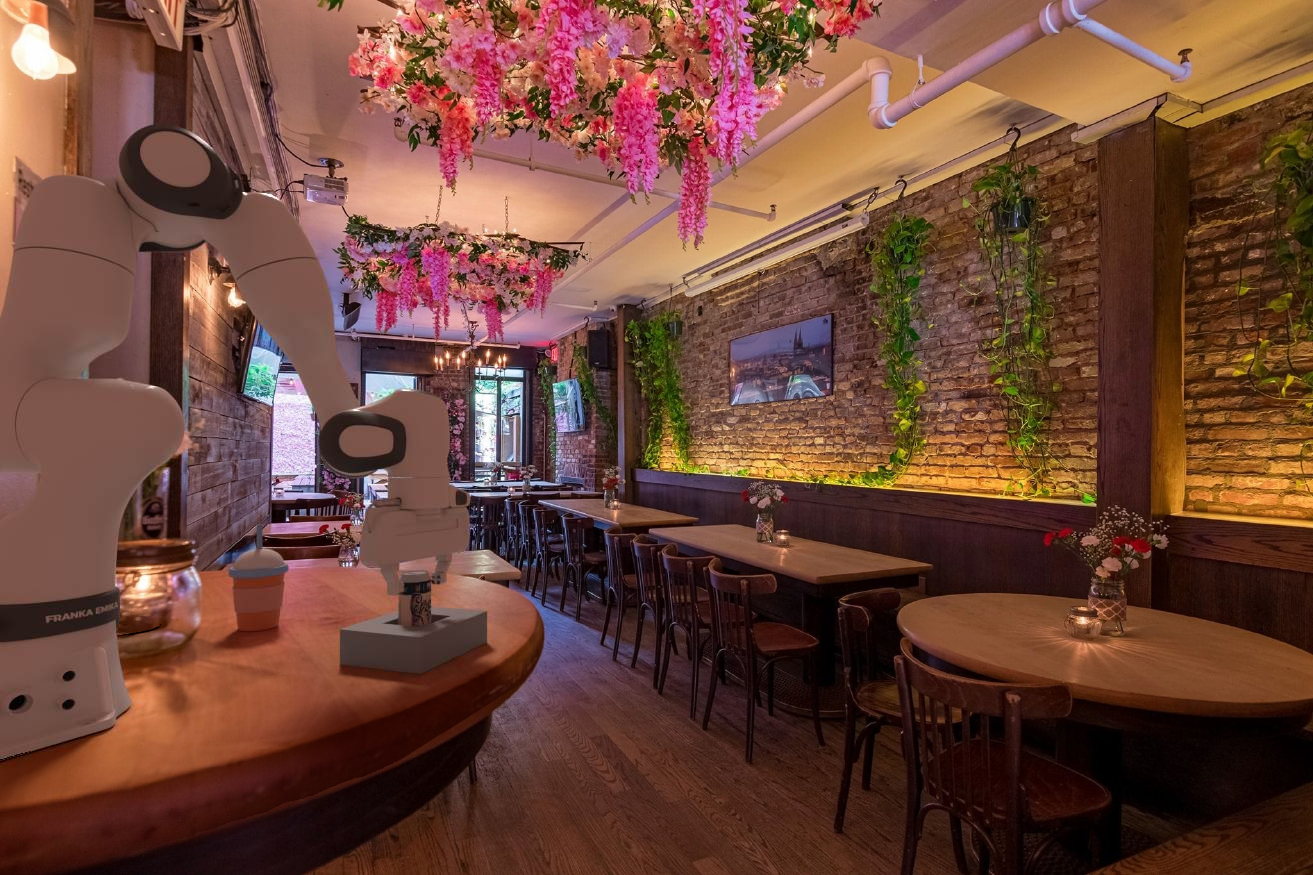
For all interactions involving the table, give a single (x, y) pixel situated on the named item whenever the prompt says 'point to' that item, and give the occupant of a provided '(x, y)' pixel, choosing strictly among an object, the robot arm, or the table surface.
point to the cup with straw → (258, 587)
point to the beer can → (415, 599)
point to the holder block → (412, 640)
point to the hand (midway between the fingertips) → (418, 588)
